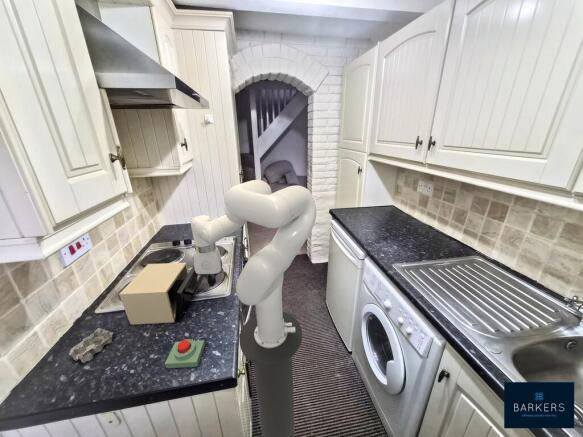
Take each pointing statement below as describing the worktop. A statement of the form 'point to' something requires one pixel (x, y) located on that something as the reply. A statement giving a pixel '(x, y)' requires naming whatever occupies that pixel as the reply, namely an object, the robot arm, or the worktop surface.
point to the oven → (154, 293)
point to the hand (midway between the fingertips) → (212, 284)
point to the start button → (184, 346)
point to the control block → (185, 355)
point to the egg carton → (91, 345)
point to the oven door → (187, 292)
